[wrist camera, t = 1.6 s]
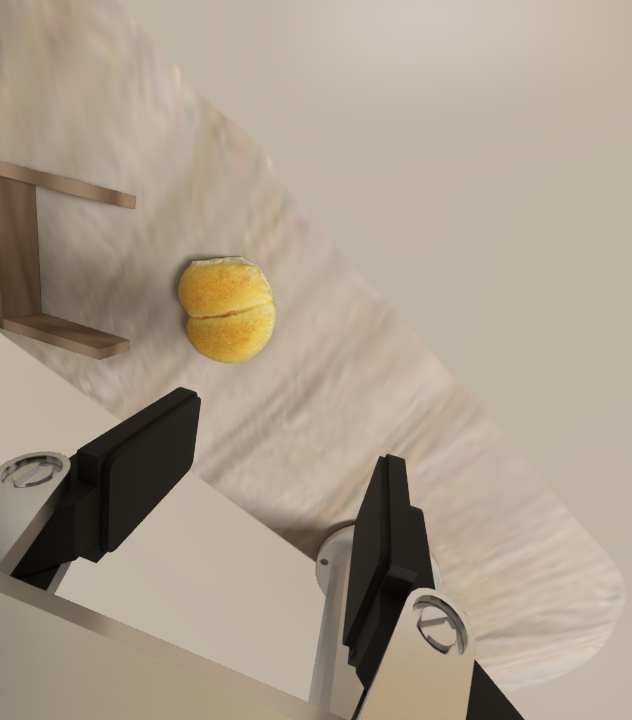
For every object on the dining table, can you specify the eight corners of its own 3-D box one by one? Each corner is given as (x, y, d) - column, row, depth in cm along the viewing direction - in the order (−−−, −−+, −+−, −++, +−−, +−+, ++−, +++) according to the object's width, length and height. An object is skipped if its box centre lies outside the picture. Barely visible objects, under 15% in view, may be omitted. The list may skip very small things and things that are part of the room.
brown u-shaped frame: (135, 196, 27) (101, 187, 24) (128, 349, 32) (99, 360, 28) (24, 168, 28) (-23, 155, 25) (33, 319, 33) (-5, 326, 29)
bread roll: (202, 359, 31) (177, 372, 27) (184, 261, 28) (153, 261, 24) (285, 357, 29) (270, 371, 25) (273, 252, 26) (254, 251, 23)
